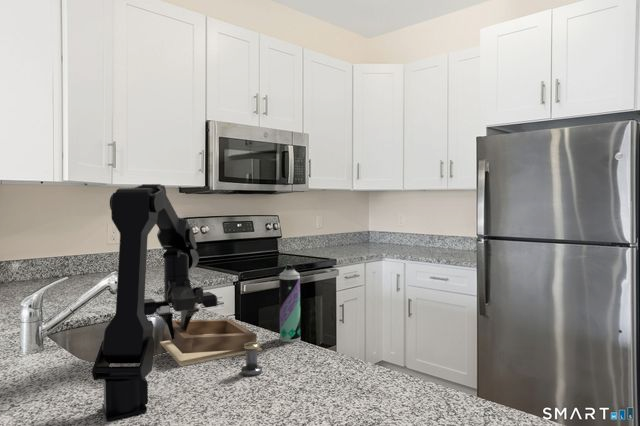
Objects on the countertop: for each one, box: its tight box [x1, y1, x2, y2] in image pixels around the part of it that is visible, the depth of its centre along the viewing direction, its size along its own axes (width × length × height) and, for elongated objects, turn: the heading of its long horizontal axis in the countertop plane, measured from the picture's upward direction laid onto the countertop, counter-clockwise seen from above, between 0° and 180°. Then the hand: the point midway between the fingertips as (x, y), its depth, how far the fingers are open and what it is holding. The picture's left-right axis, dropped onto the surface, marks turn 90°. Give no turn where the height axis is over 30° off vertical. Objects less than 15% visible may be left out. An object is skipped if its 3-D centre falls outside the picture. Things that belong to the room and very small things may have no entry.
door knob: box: [240, 341, 263, 377], centre depth 96 cm, size 4×4×6 cm
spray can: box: [278, 264, 301, 343], centre depth 119 cm, size 6×6×20 cm
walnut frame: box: [163, 318, 257, 354], centre depth 113 cm, size 18×18×4 cm
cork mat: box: [159, 334, 263, 367], centre depth 114 cm, size 20×20×1 cm
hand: (177, 338), depth 109 cm, fingers closed on walnut frame, 2 cm apart
